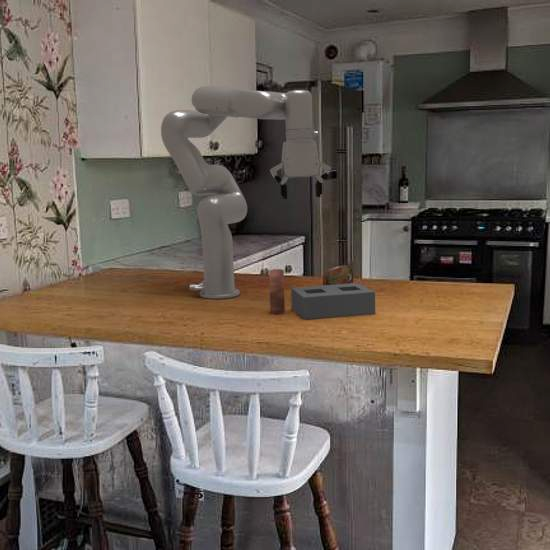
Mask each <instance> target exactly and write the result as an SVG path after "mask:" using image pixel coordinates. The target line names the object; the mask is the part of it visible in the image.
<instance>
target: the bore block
mask: <svg viewBox="0 0 550 550" xmlns="http://www.w3.org/2000/svg"><path fill="white" fill-rule="evenodd" d="M290 292H291V293H290V294H291V295H290V297H291V298H290V299H291V300H290V304H291V310H293V311H294V312H295V313H296V314H298V316H300V317H301V318H302V319H303V320H314V319H325V318H339V317H348V316H349V317H350V316H363V315H374V314H376V291H374V290H372V289H370V288H368V287H366V286H364V285H362V284H361V283H359V282H353V283H351V284H337V285H323V284H322V285H314V286H313V285H312V286H299V287H297V286H295V287H291V288H290Z"/></svg>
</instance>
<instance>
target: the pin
mask: <svg viewBox="0 0 550 550" xmlns="http://www.w3.org/2000/svg"><path fill="white" fill-rule="evenodd" d="M268 274H269V279H268V280H269V305H270V306H269V307H270V311H269V312H270V314H271V315H284V314H286V312H285V311H286V308H285V304H286V303H285V301H286V300H285V278H284V276H285V275H284V274H285V273H284V269H281V268H280V269H279V268H276V269H275V268H274V269H269V271H268Z"/></svg>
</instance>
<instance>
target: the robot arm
mask: <svg viewBox="0 0 550 550" xmlns="http://www.w3.org/2000/svg"><path fill="white" fill-rule="evenodd" d="M191 105H192V107H193V108H194V109H195V110H189V109H176V110H172V111H170V112H168V113H167V114H166V115H165V116H164V118H163V119H162V122H161V125H160V132H161V133H160V137H161V140H162V143H163V145H164V147H165V149H166V151H167V152H168V154H169V155H170V157H171V159H172V160H173V161H174V163H175V165H176V167H177V168H178V169H177V170H178V171H179V173H180V175H181V176H182V179H183V180H184V183H185V184H186V186H187V188H188V189H189V191H190V192H191V194H193V195H195V196H198V197H204V196H205V197H204V198H202V199H201V200H200V202H198V206H197V211H196V212H197V218H198V223H199V226H200V232H201V242H202V245H201V246H202V258H203V259H202V260H203V263H202V265H203V280H202V281H201V282H199V283H198V284H195V283H192V284H191V283H190V284H189V291H194V292H197V291H200V292H199V296H200V298H204V299H213V300H214V299H215V300H216V299H229V298H230V299H231V298H234V297H238V296H239V295H241V294H240V289H237V288H236V287H235V268H234V267H235V265H234V244H233V243H234V242H233V241H234V240H233V236H232V232H231V229H230V227H229V224H231V225H232V224H234V223H235V224H236V223H239V222H241V221H243V220H245V218H246V216H247V214H248V204H247V201H246V199H245V197H244V195H243V192H242V190H241V189H240V187H239V185H238V183H237V182H236V180H235V178H234V176H233V175H232V173H231V172H230V170H228V169H227V168H226V167H225V166H224V165H220V164H208V163H207V162H206V161H205V159H204V157H203V155H202V153H201V151H200V150H199V148H198V147H197V146H196V145H195V144H193V142H192V141H190V139H189V138H191V139H195V138H196V139H200V138H201V139H202V138H206V137H208V136H210V135H211V134H213V132H214V131H215V130H216V129H218V127H219V126H220V125H221V124H222V123H224V122H225V120H226V119H227V118H228V117H229V118H236V119H237V118H247V119H248V118H249V119H257V120H277V121H282V120H285V137H286V139H285V141H283V144H282V150H281V162H280V163H279V164H277V165H275V166H273V167H272V168H270V170H269V171H270V173H271V175H272V177H273V179H274V180H275V182H277V183H278V184H279V186H280V190H279V191H280V197H282V199H283V200H287V199H288V186H287V184H286V182H287V181H288V180H289V178H309V177H313V179H314V180H315V181H316V182H315V184H314V185H315V197H316V198H321V197H322V196H321V195H322V194H323V183H324V181H325V180H326V179H327V178H328V176H329V174H330V172H331V170H332V166H330V165H329V164H326V163H325V162H322V161H320V160H319V153H318V151H319V150H318V147H317V142H316V140H314V138H315V137H318V136H319V132H318V131H315V130H314V125H313V124H314V123H313V95H312V93H311V92H310V91H309V90H304V89H296V90H295V89H294V90H289V91H287V92H285V93H284V92H275V91H266V90H263V91H262V90H250V89H249V90H248V89H241V88H239V87H229V86H215V85H202V86H200V87H198V88H196V89H195V90H194V91H193V93H192V96H191ZM320 168H322V169H323V173H322V174H321V175H320ZM279 170H281V175H282V177H280V175H278V173H277V172H278V171H279Z"/></svg>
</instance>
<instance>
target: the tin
mask: <svg viewBox="0 0 550 550" xmlns="http://www.w3.org/2000/svg"><path fill="white" fill-rule="evenodd" d="M351 283H354V273H353V269H352V267H351V266H350V265H348V264H347V265H338V266H335V267H332V268H328V269H326V270H325V271H324V274H323V276H322V286H323V285H337V284H351Z"/></svg>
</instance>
